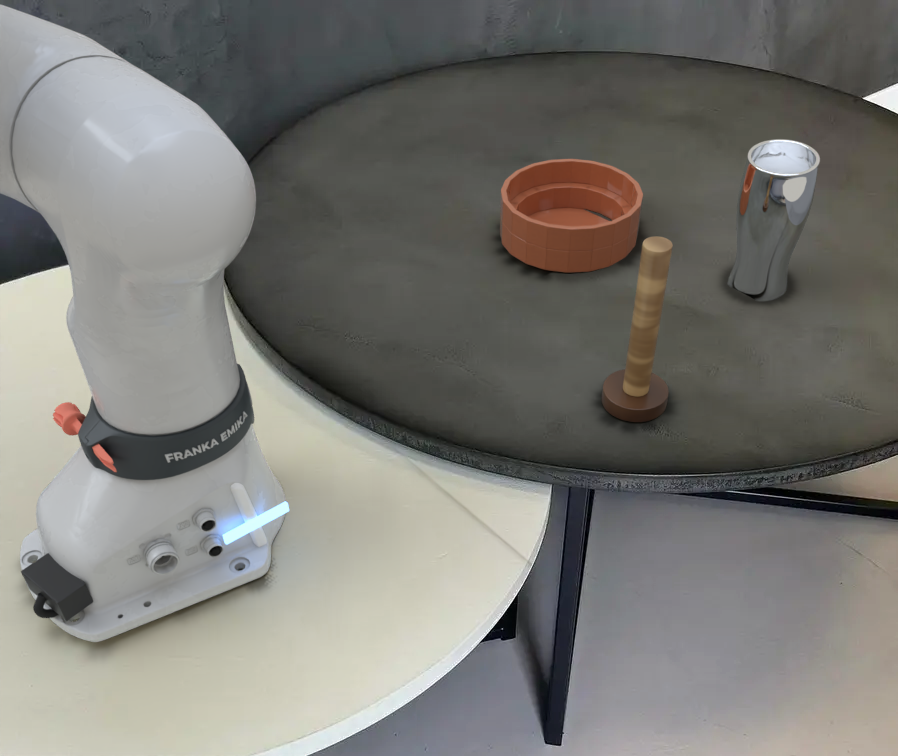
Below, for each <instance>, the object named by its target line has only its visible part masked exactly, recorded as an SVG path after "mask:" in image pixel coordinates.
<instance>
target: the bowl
mask: <svg viewBox="0 0 898 756" xmlns="http://www.w3.org/2000/svg"><path fill="white" fill-rule="evenodd" d="M643 200H644V192H643V190H642V188H641V185H640V183H639V182H638V181H637V180H636V179H635V178H633V176H632V175H630V174H629V173H628V172H626V171H624V170H621V169H620V168H618V167H616V166H613V165H611V164H607V163H604V162H600V161H595V160H591V159H589V160H588V159H578V158H560V159H548V160H544V161H539V162H538V161H537V162H533V163H530V164H528V165H526V166H523V167H521V168H518V169H517V170H515V171H513V173H511V174H510V175H508V177H506V178H505V180H504V181H503V184H502V186H501V189H500V210H499V235H500V241H501V244H502V246H503V247H504V248H505V249H506V250H507V252H508V254H510V255H511V256H512V257H514V258H515V259H517V260H519V261H521V262H522V263H524V264H526V265H529V266H532V267H534V268H538V269H541V270H544V271H549V272H559V273H586V272H587V273H588V272H593V271H597V270H601V269H605V268H609V267H611V266H613V265H615V264H617V263H618V262H620V261H621V260H624V259H625V258H626V257H627V256H628V255H629V254H630V253H631V251H632V250H633V249H634V248H635V247H636V245H637V240H638V236H639V229H640V220H641V214H642V209H643V208H642V207H643ZM595 213H597V214H595ZM598 214H600V215H602V216H604V217H606V218H607V219H606V218H604V217H602V216H599V215H598Z"/></svg>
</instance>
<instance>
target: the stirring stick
mask: <svg viewBox="0 0 898 756" xmlns="http://www.w3.org/2000/svg"><path fill="white" fill-rule="evenodd" d="M673 246H674V245H673V242H672V241H671V240H670V239H669V238H666V237H663V236H649V237H647V238H644V240H643V242H642V245H641V253H640V259H639V267H638V273H637V281H636V288H635V296H634V303H633V309H632V311H633V312H632V318H631V324H630V332H629V339H628V346H627V353H626V360H625V368H624V369H619V370H617V371H614V372H612V373H610V374H609V375H608V376H607V377H606V378H605V379H604V381H603V384H602V391H601V403H602V406H603V408H604V409H605V411H607V412H608V413H609V414H610V415H611V416H613V417H614V418H616V419H619V420H621V421H625V422H631V423H645V422H649V421H652V420H655V419H657V418H658V417H660V416H661V415H663V414H664V412H665V410H666V409H667V405H668V399H669V395H670V392H669V386H668V384H667V382H666V381H665V380H664V379H663V378H662V377H661V376H659V375H657V374H656V373H654V372H653V367H654V361H655V356H656V350H657V345H658V337H659V332H660V326H661V319H662V313H663V308H664V300H665V295H666V289H667V282H668V276H669V270H670V264H671V259H672V252H673Z"/></svg>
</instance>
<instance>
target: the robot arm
mask: <svg viewBox="0 0 898 756" xmlns="http://www.w3.org/2000/svg"><path fill="white" fill-rule="evenodd" d="M0 194H1V195H3V196H5V197H8V198H11V199H13V200H15V201H17V202H18V203H21V204H23V205H24V206H26V207H29V208H30V209H32V210H34V211H35V212H37V213H39V214H40V215H41V216H42V218H43V219H44V220H45V222H46V223H47V224H48V226H49V228H50V229H51V230H52V232H53V233H54V235H55V236H56V238H57V240H58V242H59V244H60V245H61V247H62V250H63V251H64V254H65V256H66V260H67V263H68V267H69V272H70V280H71V287H72V297H71V299H70V301H69V303H68V306H67V310H66V315H65V319H66V320H65V321H66V322H65V323H66V327H67V331H68V333H69V336H70V339H71V341H72V344H73V347H74V349H75V354H76V356H77V357H78V360H79V363H80V366H81V369H82V372H83V374H84V377H85V380H86V383H87V386H88V389H89V391H90V395H91V398H90V403H89V409H88V411H87V413H86V415H85V414H84V413H82V412H81V410H80V408H79V407H78V406H77V405H76V404H75V403H73V402H71V401H70V402H69V401H67V402H62V403H60V404H58V405H57V406H56V407H55V409H54V412H53V413H52V417H53V418H52V419H53V421H54V422H55V423H56V425H57V426H59V427H61V430H62V432H63V433H64V434H66V435H68V436H73V437H74V436H77V437H78V440H79V443H80V446H79V447H78V448H77V449H76V451H75V452H74V453H73V455H72V456H71V457H70V458H69V459H68V461H67V462H66V463H65V464H64V466H63V467H62V468H61V469H60V470H59V471H58V473H56V474H55V476H54V477H53V478H52V480H51V481H50V482H49V484H48V485H47V486H46V487H44V489H43V490H42V491H41V492H40V494H39V496H38V498H37V501H36V506H35V522H36V529H34V530H32V531H31V532H30V533H28V534H27V535H26V536H25V537H24V538H23V540H22V542H21V544H20V545H21V546H20V551H19V564H20V568H21V569H20V570H21V571H20V573H21V575H22V577H23V579H24V582H25V584H26V586H27V589H28V591H29V592H30V594H31V596H32V598H33V599H34V603H33V612H34V613H35V615H36V616H37V617H39V618H40V619H50V620H51V622H52V623H53V624H55V625H56V626H57V627H59V628H60V629H61V630H62V631H64V632H66V633H67V634H68V635H71V636H72V637H76V638H77V639H79V640H83V641H87V642H90V643H91V642H92V643H99V642H102V641H105V640H108V639H111V638H113V637H116V636H119V635H121V634H123V633H126V632H128V631H131V630H133V629H136V628H138V627H141V626H143V625H146V624H148V623H150V622H151V623H152V622H153V621H155V620H157V619H161V618H163V617H166V616H168V615H171V614H172V613H175V612H178V611H180V610H182V609H183V610H184V609H185V608H188V607H191V606H193V605H195V604H198V603H200V602H203V601H206V600H208V599H210V598H212V597H215V596H217V595H220V594H222V593H225V592H227V591H230V590H232V589H235V588H238V587H240V586H242V585H244V584H247V583H250V582H252V581H255V580H257V579H260V578H262V577H263V576H264V575H266V574H267V573H268V572H269V569H270V567H271V563H272V545H273V542H274V540H275V538H276V536H277V535H278V533H279V531H280V529H281V528H282V525H283V523H284V521H285V517H286V513H289V512H290V508H289V502H287V497H286V494H285V491H284V488H283V486H282V484H281V483H280V480H278V478H277V477H276V475H275V474H274V472H273V471H272V469H271V467H270V465H269V463H268V461H267V459H266V457H265V455H264V452H263V450H262V447H261V445H260V443H259V442H260V441H259V440H258V437H257V433H256V431H255V428H254V423H255V413H254V407H253V398H252V395H251V391H250V387H249V384H248V381H247V377H246V374H245V371H244V369H243V367H242V365H241V364H240V363H238V361H237V356H236V352H235V347H234V342H233V337H232V332H231V328H230V327H231V326H230V323H229V318H228V313H227V308H226V307H227V306H226V301H225V289H224V287H225V286H224V285H225V269H226V268H227V267H228V266H229V265H230V264H231V263H232V262H233V261H234V260H235V259H236V258H237V256H238V255H239V254H240V252H241V251H242V249H243V247H244V246H245V244H246V242H247V240H248V238H249V236H250V233H251V231H252V228H253V224H254V222H255V221H254V220H255V216H256V210H257V209H256V208H257V192H256V184H255V180H254V177H253V173H252V170H251V168H250V166H249V164H248V162H247V160H246V159H245V157H244V155H242V153H241V152H240V151H239V149H238V148H237V147H236V145H235V144H234V143H233V141H232V140H231V138H229V136H228V135H227V134H226V133H225V132H224V130H223V129H221V127H220V126H219V125H218V123H216V122H215V121H214V119H213V118H212V117H211V116H210V115H209V114H208V113H207V112H206V111H205V110H204V109H203V108H202V107H201V106H200V105H198V103H196V102H195V101H192V100H191V99H190V98H188V97H187V96H185V95H184V94H182V93H180V92H179V91H177V90H175V89H174V88H172V87H171V86H168V85H167V84H166V83H164V82H163V81H160V79H158V78H156V77H154V76H153V75H151V74H149V73H148V72H146V71H145V70H143V69H142V68H139V67H137V66H136V65H135V64H132V63H131V62H129V61H128V60H126V59H125V58H123V57H121V56H120V55H118V54H116V53H115V52H114V51H112V50H110V49H109V48H106V46H104V45H102V44H100V43H98V42H97V41H95V39H92V38H90V37H89V36H86V35H84V34H82V33H80V32H77V31H74V30H73V29H70V28H67V27H64V26H62V25H59V24H57V23H53V22H52V21H48V20H45V19H43V18H39V17H37V16H35V15H32V14H29V13H27V12H23V11H22V10H21V11H20V10H18V9H15V8H12V7H9V6H6V5H3V4H0Z"/></svg>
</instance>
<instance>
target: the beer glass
mask: <svg viewBox="0 0 898 756" xmlns="http://www.w3.org/2000/svg"><path fill="white" fill-rule="evenodd" d="M820 162H821V158H820V154H819V153H818V151H817V150H816V149H815V148H813V147H811V146H810V145H808V144H806V143H804V142H801V141H797V140H792V139H783V138H777V139H776V138H775V139H769V140H764V141H760V142H759V143H756V144H755V145H753V146H751V148H750V149H749V150H748V152H747V157H746V161H745V165H744V169H743V172H742V176H741V180H740V183H739V189H738V193H737V201H736V214H735V215H736V219H735V220H736V221H735V222H736V225H735V227H736V229H735V230H736V252H735V260H734V263H733V265H732V266H733V267H732V269H731V271H730V274H729V276H728V279H727V286H729V287H730V288H733V289H735V290H736V291H738V292H740V293H741V294H743V295H745V296H747V297H749V298H751V299H753V300H755V301H756V302H769V301H773V300H777V299H778V298H780V297H783V296H784V294H785V293H786V291H787V289H788V269H789V264H790V260H791V258H792V255H793V253H794V250H795V249H796V246H797V245H798V242H799V239H800V237H801V235H802V233H803V230H804V228H805V226H806V223H807V221H808V218H809V216H810V212H811V208H812V205H813V201H814V197H815V192H816V187H817V179H818V172H819V166H820Z"/></svg>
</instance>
